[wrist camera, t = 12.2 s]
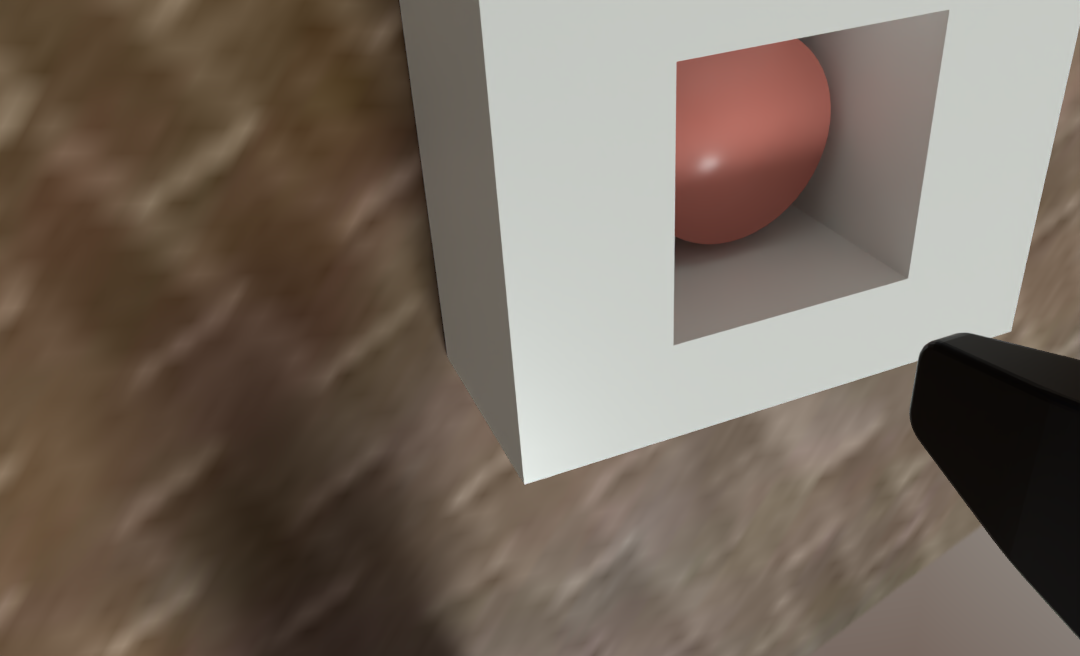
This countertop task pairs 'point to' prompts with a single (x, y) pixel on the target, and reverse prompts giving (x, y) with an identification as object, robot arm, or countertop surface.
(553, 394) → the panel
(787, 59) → the button
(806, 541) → the countertop surface
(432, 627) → the countertop surface
